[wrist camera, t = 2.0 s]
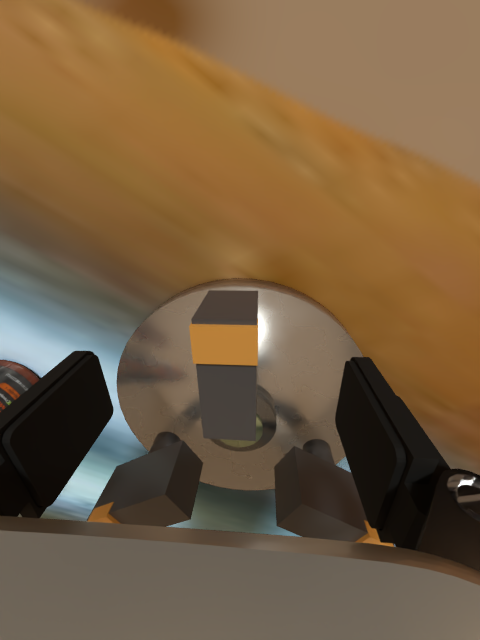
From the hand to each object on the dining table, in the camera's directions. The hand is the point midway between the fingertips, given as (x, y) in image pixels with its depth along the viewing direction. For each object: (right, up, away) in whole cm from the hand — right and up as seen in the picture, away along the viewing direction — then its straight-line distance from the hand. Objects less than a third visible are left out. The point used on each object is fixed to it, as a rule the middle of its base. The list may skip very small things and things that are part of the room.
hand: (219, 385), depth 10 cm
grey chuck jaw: (+6, -7, +9) cm, 13 cm away
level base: (+1, -3, +10) cm, 11 cm away
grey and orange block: (+1, +2, +6) cm, 6 cm away
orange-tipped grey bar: (-5, -7, +10) cm, 13 cm away
